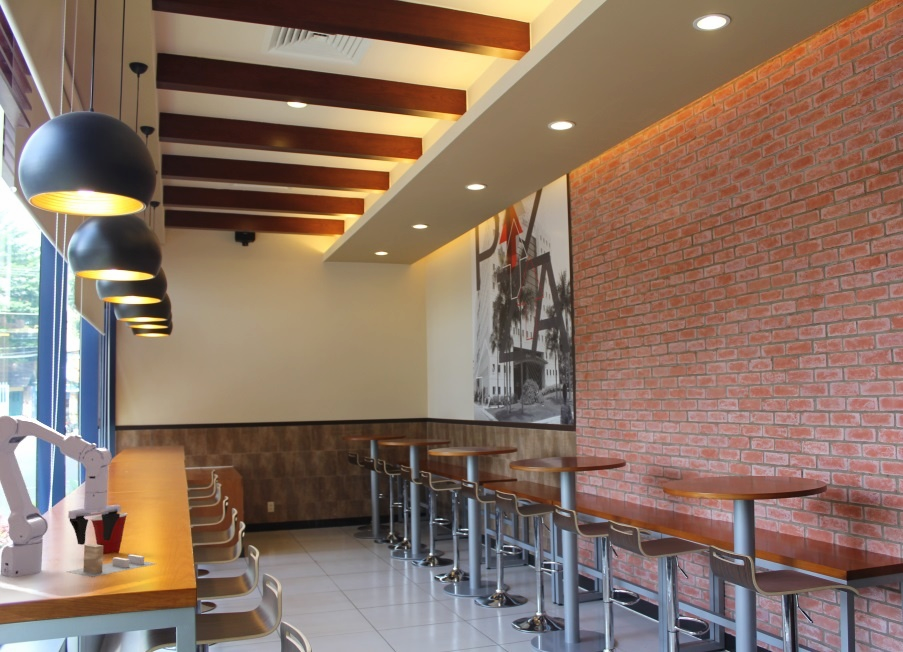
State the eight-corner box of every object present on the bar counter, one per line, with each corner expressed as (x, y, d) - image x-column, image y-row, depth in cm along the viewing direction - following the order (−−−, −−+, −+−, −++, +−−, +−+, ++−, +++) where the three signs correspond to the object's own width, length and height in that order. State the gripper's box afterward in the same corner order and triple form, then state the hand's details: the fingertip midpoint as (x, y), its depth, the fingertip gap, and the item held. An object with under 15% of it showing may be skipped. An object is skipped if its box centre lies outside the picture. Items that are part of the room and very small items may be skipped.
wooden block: (94, 573, 214) (95, 546, 214) (83, 571, 216) (84, 545, 217) (102, 571, 216) (103, 545, 216) (91, 569, 218) (92, 543, 219)
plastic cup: (90, 553, 248) (91, 514, 250) (127, 550, 252) (128, 512, 254) (87, 558, 238) (88, 517, 240) (125, 555, 242) (126, 515, 243)
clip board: (92, 580, 209) (92, 569, 210) (66, 575, 216) (66, 564, 216) (156, 567, 226) (156, 556, 226) (130, 562, 233) (130, 552, 233)
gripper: (80, 495, 210) (77, 547, 209) (128, 490, 222) (126, 539, 221) (64, 493, 214) (62, 545, 212) (112, 488, 226) (111, 537, 225)
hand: (94, 542), depth 217 cm, fingers open, 7 cm apart
